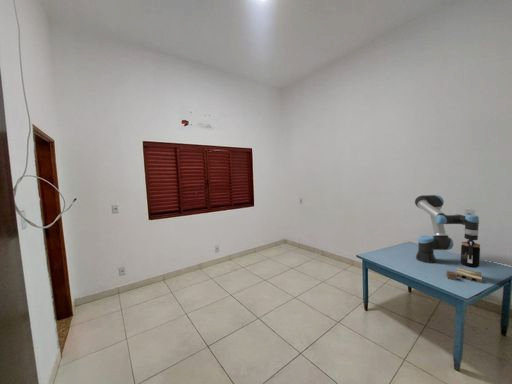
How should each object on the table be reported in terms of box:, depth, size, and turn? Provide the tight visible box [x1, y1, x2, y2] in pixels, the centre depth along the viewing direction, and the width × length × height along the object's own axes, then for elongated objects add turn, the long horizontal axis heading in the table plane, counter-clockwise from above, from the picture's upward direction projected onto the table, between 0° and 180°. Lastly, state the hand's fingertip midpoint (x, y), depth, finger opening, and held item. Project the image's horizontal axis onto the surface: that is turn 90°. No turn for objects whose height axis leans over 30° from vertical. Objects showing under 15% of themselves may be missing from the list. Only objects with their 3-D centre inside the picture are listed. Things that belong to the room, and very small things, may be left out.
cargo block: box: [445, 270, 458, 281], centre depth 169 cm, size 5×5×5 cm
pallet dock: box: [456, 267, 483, 284], centre depth 170 cm, size 14×14×3 cm
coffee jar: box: [460, 241, 481, 269], centre depth 169 cm, size 11×11×18 cm
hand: (469, 260), depth 169 cm, fingers closed on coffee jar, 10 cm apart
